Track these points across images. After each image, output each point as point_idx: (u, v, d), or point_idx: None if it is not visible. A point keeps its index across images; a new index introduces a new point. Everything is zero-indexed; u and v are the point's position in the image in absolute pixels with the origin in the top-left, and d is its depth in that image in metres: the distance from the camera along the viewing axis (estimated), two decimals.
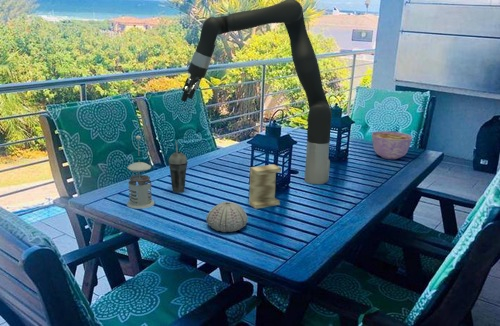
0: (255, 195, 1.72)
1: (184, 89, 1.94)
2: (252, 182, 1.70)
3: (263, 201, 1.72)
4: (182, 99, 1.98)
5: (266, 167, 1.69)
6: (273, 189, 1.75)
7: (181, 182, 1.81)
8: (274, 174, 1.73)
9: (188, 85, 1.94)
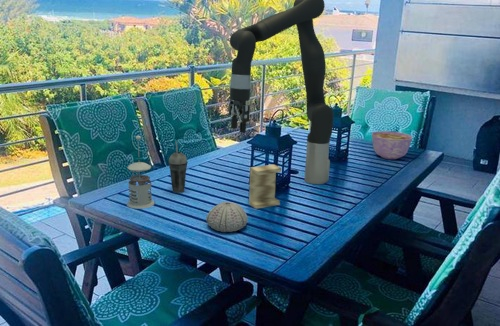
0: (255, 195, 1.72)
1: (244, 119, 1.71)
2: (252, 182, 1.70)
3: (263, 201, 1.72)
4: (242, 131, 1.74)
5: (266, 167, 1.69)
6: (273, 189, 1.75)
7: (181, 182, 1.81)
8: (274, 174, 1.73)
9: (247, 113, 1.71)
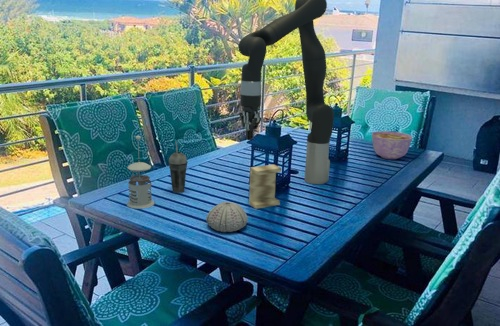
0: (255, 195, 1.72)
1: (252, 128, 1.74)
2: (252, 182, 1.70)
3: (263, 201, 1.72)
4: (250, 138, 1.76)
5: (266, 167, 1.69)
6: (273, 189, 1.75)
7: (181, 182, 1.81)
8: (274, 174, 1.73)
9: (257, 124, 1.72)
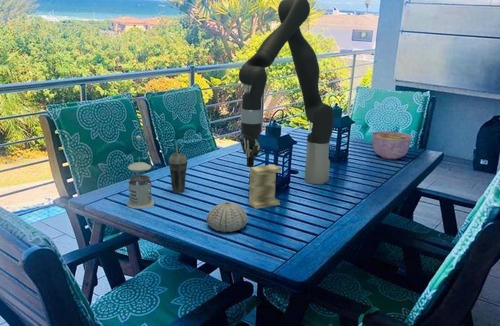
0: (255, 195, 1.72)
1: (253, 155, 1.75)
2: (252, 182, 1.70)
3: (263, 201, 1.72)
4: (250, 165, 1.78)
5: (266, 167, 1.69)
6: (273, 189, 1.75)
7: (181, 182, 1.81)
8: (274, 174, 1.73)
9: (257, 151, 1.74)
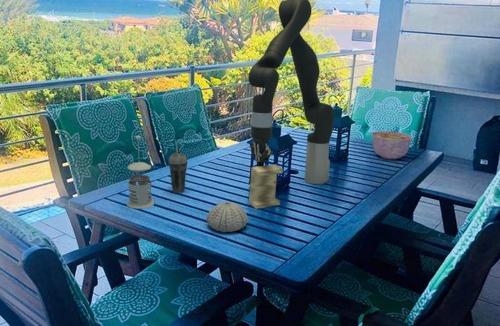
0: (255, 195, 1.71)
1: (263, 160, 1.69)
2: (253, 182, 1.69)
3: (263, 201, 1.72)
4: None
5: (267, 168, 1.68)
6: (274, 189, 1.75)
7: (181, 182, 1.81)
8: (275, 174, 1.73)
9: (268, 156, 1.68)
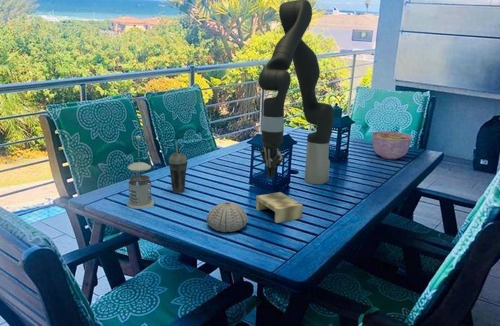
0: None
1: (274, 166, 1.63)
2: (270, 207, 1.61)
3: None
4: (271, 176, 1.66)
5: (289, 214, 1.59)
6: None
7: (181, 182, 1.81)
8: None
9: (279, 162, 1.62)
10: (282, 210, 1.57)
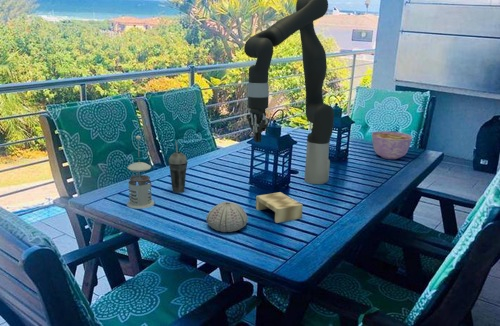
0: None
1: (261, 130, 1.72)
2: (270, 207, 1.61)
3: None
4: (258, 140, 1.74)
5: (289, 214, 1.59)
6: None
7: (181, 182, 1.81)
8: None
9: (265, 126, 1.70)
10: (282, 210, 1.57)
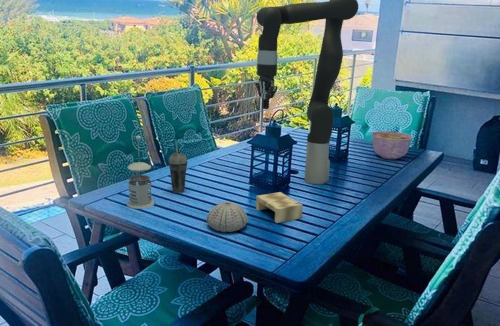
0: None
1: (269, 97, 1.78)
2: (270, 207, 1.61)
3: None
4: (266, 107, 1.81)
5: (289, 214, 1.59)
6: None
7: (181, 182, 1.81)
8: None
9: (273, 93, 1.77)
10: (282, 210, 1.57)
